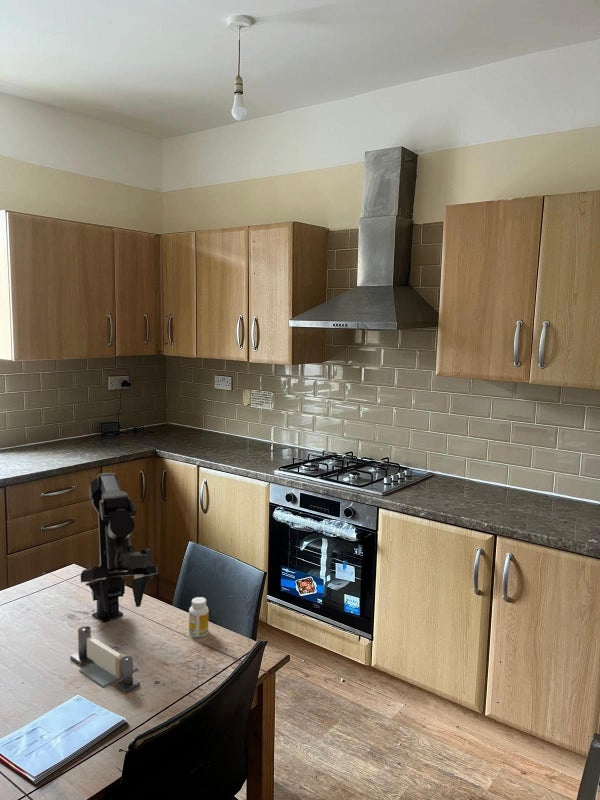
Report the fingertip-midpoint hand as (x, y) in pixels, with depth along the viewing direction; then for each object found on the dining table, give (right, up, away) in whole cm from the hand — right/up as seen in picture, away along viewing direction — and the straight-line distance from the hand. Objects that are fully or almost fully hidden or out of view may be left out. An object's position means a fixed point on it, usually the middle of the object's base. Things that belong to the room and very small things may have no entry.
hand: (122, 608), depth 146 cm
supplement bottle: (+15, -15, +23) cm, 31 cm away
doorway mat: (-4, -16, +3) cm, 17 cm away
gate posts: (-5, -16, +3) cm, 17 cm away
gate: (-5, -15, +2) cm, 16 cm away
